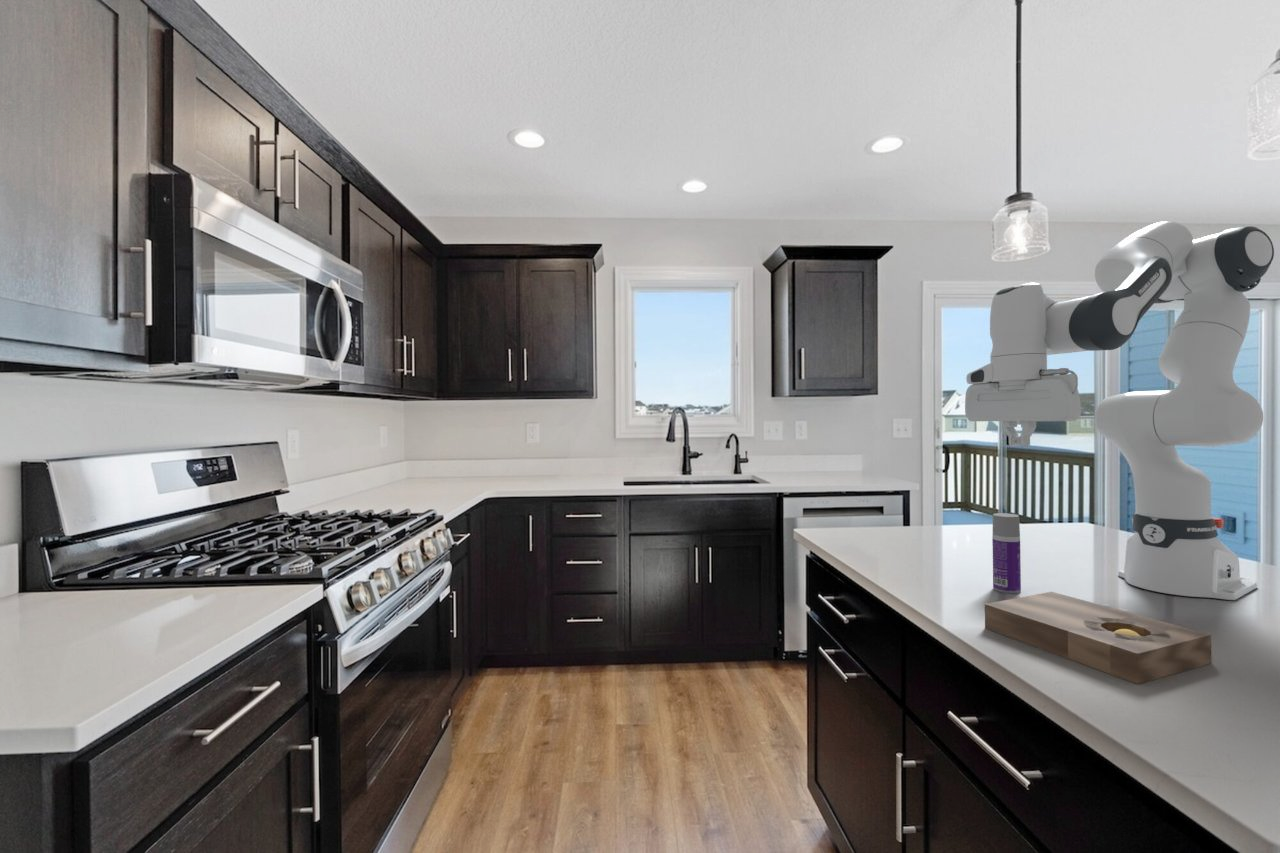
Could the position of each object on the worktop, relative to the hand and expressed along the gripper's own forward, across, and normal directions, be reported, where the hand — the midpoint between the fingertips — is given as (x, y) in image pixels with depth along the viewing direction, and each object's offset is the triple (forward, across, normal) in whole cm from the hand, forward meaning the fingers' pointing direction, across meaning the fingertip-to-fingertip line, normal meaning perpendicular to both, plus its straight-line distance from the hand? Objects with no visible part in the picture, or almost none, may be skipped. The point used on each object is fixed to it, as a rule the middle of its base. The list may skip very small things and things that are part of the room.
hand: (1019, 446), depth 109 cm
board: (+29, -18, +10) cm, 36 cm away
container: (+29, +6, -4) cm, 30 cm away
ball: (+27, -23, +10) cm, 37 cm away
